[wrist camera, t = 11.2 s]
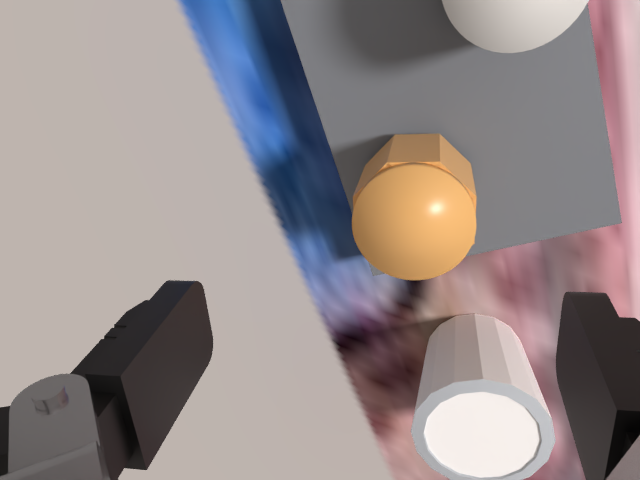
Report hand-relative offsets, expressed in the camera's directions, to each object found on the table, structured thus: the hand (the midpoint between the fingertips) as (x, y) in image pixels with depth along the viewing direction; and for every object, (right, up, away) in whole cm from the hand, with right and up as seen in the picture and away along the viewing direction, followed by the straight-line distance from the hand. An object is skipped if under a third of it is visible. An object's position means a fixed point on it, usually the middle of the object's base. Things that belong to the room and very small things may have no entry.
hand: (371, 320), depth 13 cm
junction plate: (+5, +10, +15) cm, 19 cm away
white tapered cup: (+8, -5, +21) cm, 23 cm away
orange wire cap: (+3, +4, +14) cm, 15 cm away
